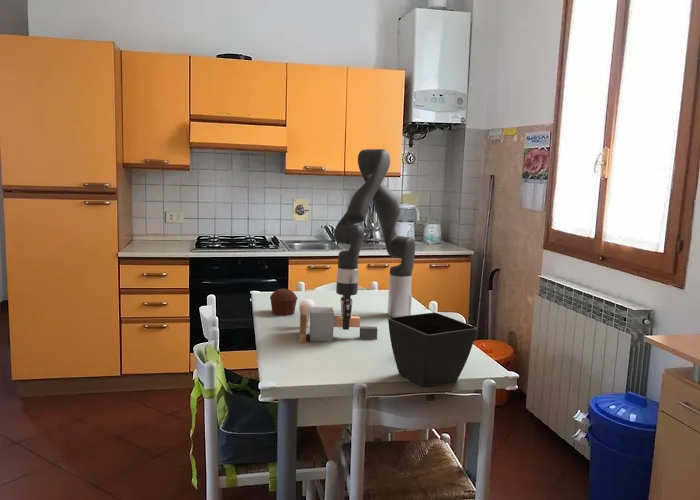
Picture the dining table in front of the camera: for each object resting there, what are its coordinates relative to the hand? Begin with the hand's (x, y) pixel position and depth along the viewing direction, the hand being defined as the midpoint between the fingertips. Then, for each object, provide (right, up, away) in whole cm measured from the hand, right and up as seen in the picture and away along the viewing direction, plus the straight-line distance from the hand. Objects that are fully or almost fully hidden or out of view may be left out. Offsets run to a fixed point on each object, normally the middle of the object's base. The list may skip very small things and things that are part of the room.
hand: (345, 327), depth 210 cm
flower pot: (+25, -10, -37) cm, 45 cm away
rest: (+8, -4, +2) cm, 9 cm away
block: (-9, -3, 0) cm, 9 cm away
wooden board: (-15, -3, -1) cm, 16 cm away
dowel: (-3, +1, 0) cm, 3 cm away
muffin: (-26, +2, +32) cm, 41 cm away
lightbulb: (-15, -2, +12) cm, 19 cm away
